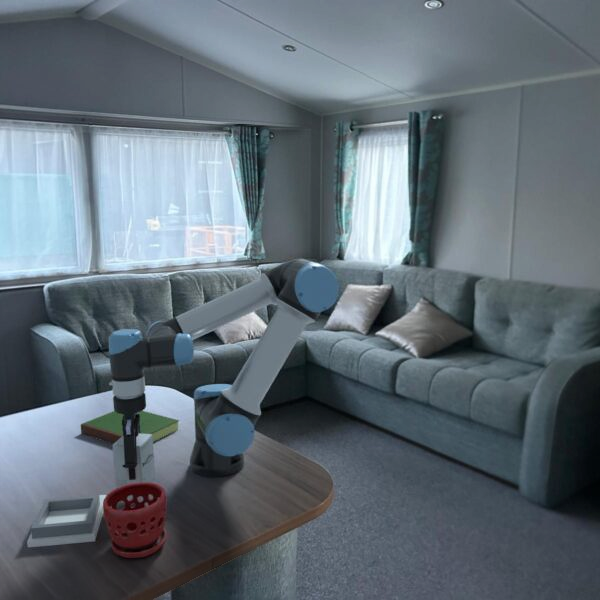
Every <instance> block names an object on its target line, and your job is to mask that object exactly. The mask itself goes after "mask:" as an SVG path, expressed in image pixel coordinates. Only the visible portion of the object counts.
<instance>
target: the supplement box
mask: <svg viewBox="0 0 600 600" xmlns="http://www.w3.org/2000/svg"><path fill="white" fill-rule="evenodd" d="M136 443H137V444H136V452H137V464H138V471H139V483H144V482H145V483H154V482H155V481H156V468H155V467H156V465H155V453H154V442H153V437H152V434H140V433H139V434H138V436H137V437H136ZM112 454H113V455H112V456H113V457H112V458H113V466H114V467H113V468H114V470H113V471H114V481H115V489H117V488H119V487H122V486H125V485H127V473H126V468H125V467H124V468H123V465H124V464H125V459H124V438H123V436H122V437H121V438H120V439H119V440H118V441H116V442H115V443H114V444H112Z"/></svg>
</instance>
